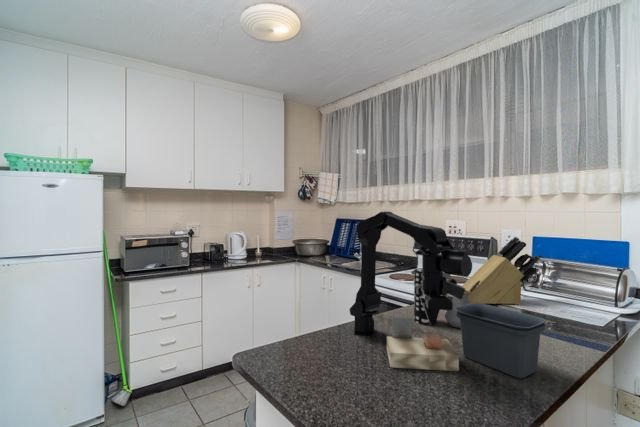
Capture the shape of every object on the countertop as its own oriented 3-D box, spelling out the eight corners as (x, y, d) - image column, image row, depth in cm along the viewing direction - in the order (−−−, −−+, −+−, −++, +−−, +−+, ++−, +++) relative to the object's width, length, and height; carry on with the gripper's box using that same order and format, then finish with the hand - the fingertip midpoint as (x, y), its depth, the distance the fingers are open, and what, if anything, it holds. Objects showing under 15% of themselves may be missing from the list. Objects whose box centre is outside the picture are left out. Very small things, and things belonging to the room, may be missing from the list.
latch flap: (392, 317, 100) (391, 317, 101) (391, 337, 100) (391, 336, 101) (412, 318, 100) (411, 317, 100) (412, 338, 100) (411, 337, 100)
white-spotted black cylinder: (425, 326, 122) (425, 273, 122) (409, 320, 129) (409, 269, 129) (441, 323, 125) (441, 271, 125) (425, 317, 133) (425, 267, 133)
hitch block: (390, 367, 90) (390, 352, 89) (386, 349, 101) (386, 336, 101) (458, 371, 87) (458, 356, 87) (446, 352, 99) (446, 339, 99)
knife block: (542, 305, 150) (542, 238, 150) (465, 304, 151) (465, 237, 151) (526, 298, 162) (527, 236, 161) (455, 298, 162) (455, 236, 162)
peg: (426, 362, 92) (427, 339, 92) (424, 356, 96) (424, 333, 96) (441, 363, 92) (441, 339, 92) (438, 357, 96) (438, 334, 96)
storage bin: (449, 355, 97) (449, 307, 97) (479, 344, 105) (479, 300, 105) (525, 388, 79) (525, 329, 79) (555, 371, 87) (555, 318, 87)
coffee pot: (468, 333, 115) (468, 290, 115) (438, 324, 124) (438, 285, 124) (495, 320, 128) (495, 282, 128) (466, 313, 137) (466, 278, 137)
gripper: (473, 278, 84) (473, 339, 84) (452, 266, 102) (452, 316, 102) (428, 277, 85) (428, 337, 85) (416, 266, 104) (416, 315, 104)
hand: (432, 325), depth 94 cm, fingers closed
